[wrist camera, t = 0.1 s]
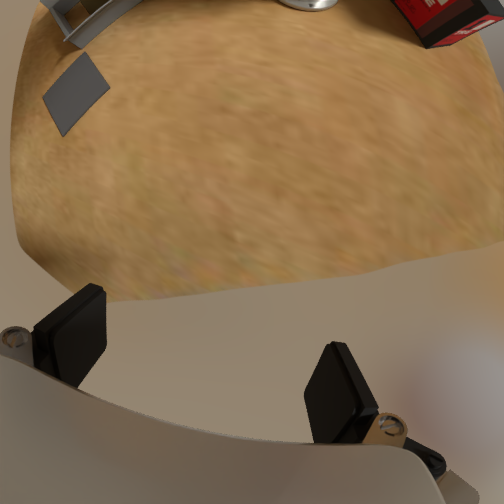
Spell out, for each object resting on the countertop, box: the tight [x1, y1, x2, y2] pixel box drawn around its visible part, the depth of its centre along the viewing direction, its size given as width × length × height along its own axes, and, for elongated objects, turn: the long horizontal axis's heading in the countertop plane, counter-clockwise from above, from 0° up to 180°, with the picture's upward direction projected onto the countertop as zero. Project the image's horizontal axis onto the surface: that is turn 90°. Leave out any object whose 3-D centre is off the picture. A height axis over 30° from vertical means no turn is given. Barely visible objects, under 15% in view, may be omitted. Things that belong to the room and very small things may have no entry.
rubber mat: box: [43, 52, 110, 136], centre depth 34 cm, size 12×12×1 cm
